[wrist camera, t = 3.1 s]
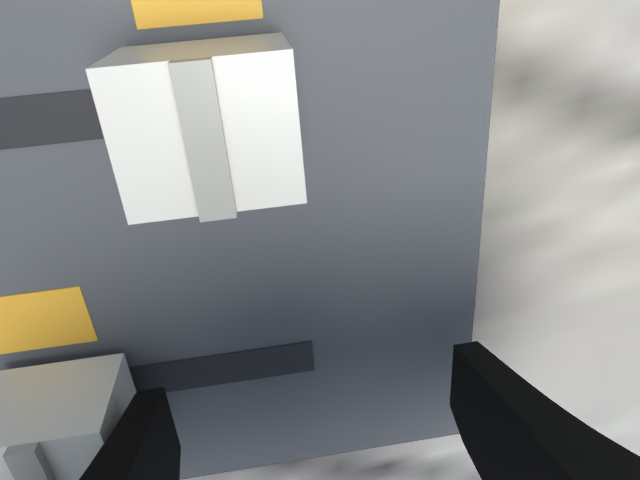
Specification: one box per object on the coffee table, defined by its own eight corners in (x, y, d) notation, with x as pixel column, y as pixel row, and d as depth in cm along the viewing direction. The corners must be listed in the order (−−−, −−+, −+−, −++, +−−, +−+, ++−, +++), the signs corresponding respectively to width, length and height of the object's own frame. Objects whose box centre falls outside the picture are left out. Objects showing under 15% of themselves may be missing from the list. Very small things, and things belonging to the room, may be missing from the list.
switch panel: (447, 398, 18) (464, 433, 16) (-112, 486, 16) (-144, 534, 15) (514, -747, 7) (576, -911, 6) (-1025, -806, 6) (-1414, -1045, 4)
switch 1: (147, 425, 14) (127, 520, 11) (32, 442, 14) (-14, 544, 11) (123, 352, 13) (96, 442, 10) (-3, 370, 12) (-62, 466, 10)
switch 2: (293, 157, 11) (309, 208, 9) (151, 173, 11) (125, 231, 8) (281, 32, 10) (294, 51, 7) (121, 46, 10) (79, 71, 7)
